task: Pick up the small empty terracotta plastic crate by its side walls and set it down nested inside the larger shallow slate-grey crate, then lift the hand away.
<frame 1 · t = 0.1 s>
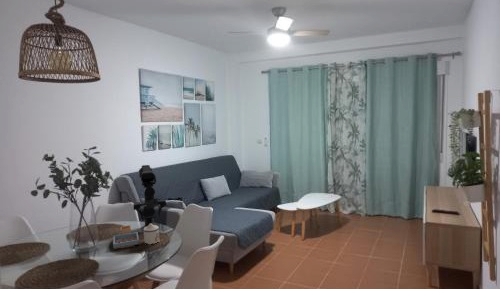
hand: (150, 218, 202), 15 cm above the table, tool pointing down, fingers open, 9 cm apart
teacup with lid: (152, 241, 204), on the table
big crate: (126, 243, 202), on the table
small crate: (126, 236, 213), on the table
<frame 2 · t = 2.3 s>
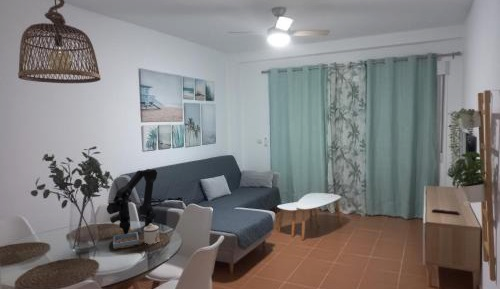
hand: (125, 233, 213), 2 cm above the table, tool pointing down, fingers open, 8 cm apart
nothing on the table moved.
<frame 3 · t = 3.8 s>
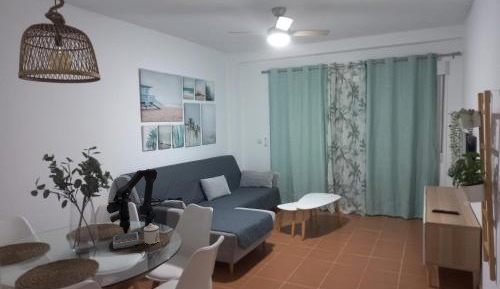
hand: (125, 232, 213), 2 cm above the table, tool pointing down, fingers closed on small crate, 6 cm apart
small crate: (126, 235, 213), point 1 cm above the table, touching gripper
everything else where it was.
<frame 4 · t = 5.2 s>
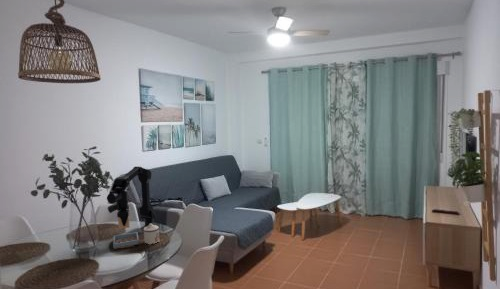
hand: (124, 224, 202), 11 cm above the table, tool pointing down, fingers closed on small crate, 6 cm apart
small crate: (124, 226, 203), point 10 cm above the table, touching gripper
everything else where it was.
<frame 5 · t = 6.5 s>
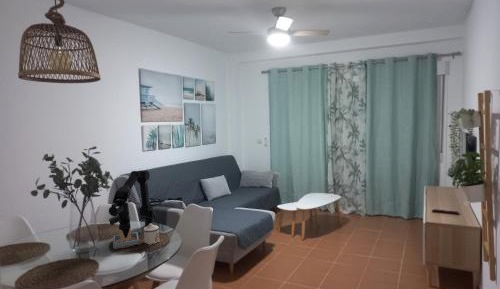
hand: (125, 235, 202), 5 cm above the table, tool pointing down, fingers closed on small crate, 6 cm apart
small crate: (125, 238, 202), point 3 cm above the table, touching gripper
everything else where it was.
when the fingers open (4 cm above the table, at t = 7.6 s): small crate drops 1 cm, resting on big crate.
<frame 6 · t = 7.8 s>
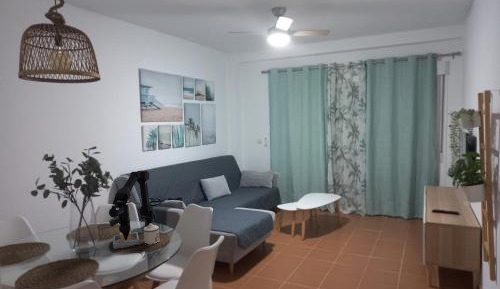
hand: (125, 237, 202), 4 cm above the table, tool pointing down, fingers open, 8 cm apart
small crate: (126, 242, 202), point 1 cm above the table, touching big crate
everything else where it was.
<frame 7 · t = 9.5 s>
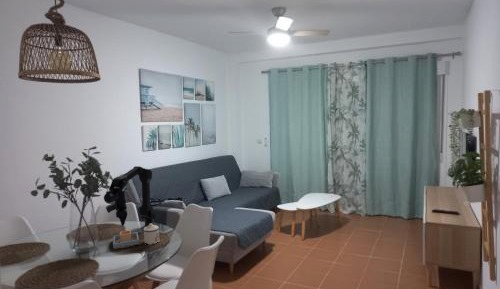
hand: (122, 223, 205), 11 cm above the table, tool pointing down, fingers open, 9 cm apart
nothing on the table moved.
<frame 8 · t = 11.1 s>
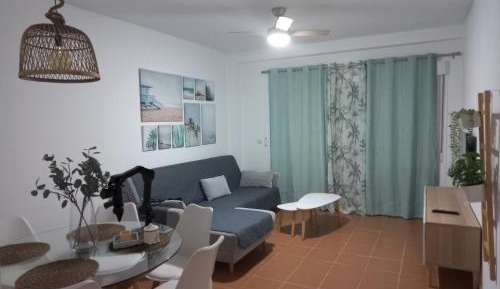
hand: (119, 219, 209), 12 cm above the table, tool pointing down, fingers open, 9 cm apart
nothing on the table moved.
at the end: small crate 0.1 cm off-centre on the big crate, point 0.8 cm above the big crate's base; small crate tilted 0°; the gripper is holding nothing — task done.
